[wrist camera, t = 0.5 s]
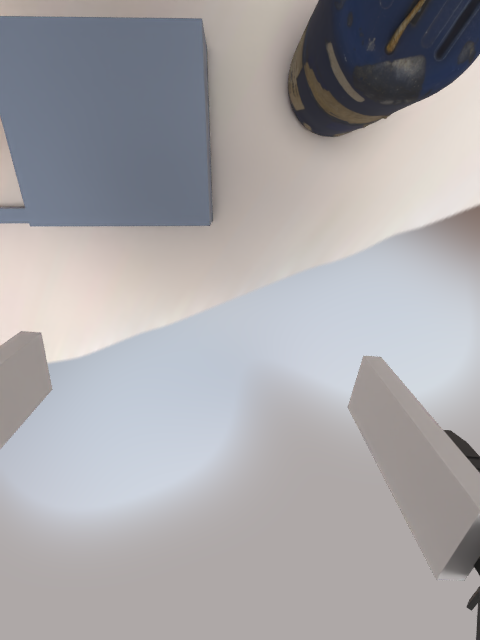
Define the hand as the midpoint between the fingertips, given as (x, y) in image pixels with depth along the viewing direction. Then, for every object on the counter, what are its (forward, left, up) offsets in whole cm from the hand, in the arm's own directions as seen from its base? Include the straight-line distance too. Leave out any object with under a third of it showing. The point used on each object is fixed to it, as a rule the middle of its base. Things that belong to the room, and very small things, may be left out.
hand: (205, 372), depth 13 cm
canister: (-16, +11, -27) cm, 34 cm away
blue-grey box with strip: (-11, -21, -27) cm, 36 cm away
